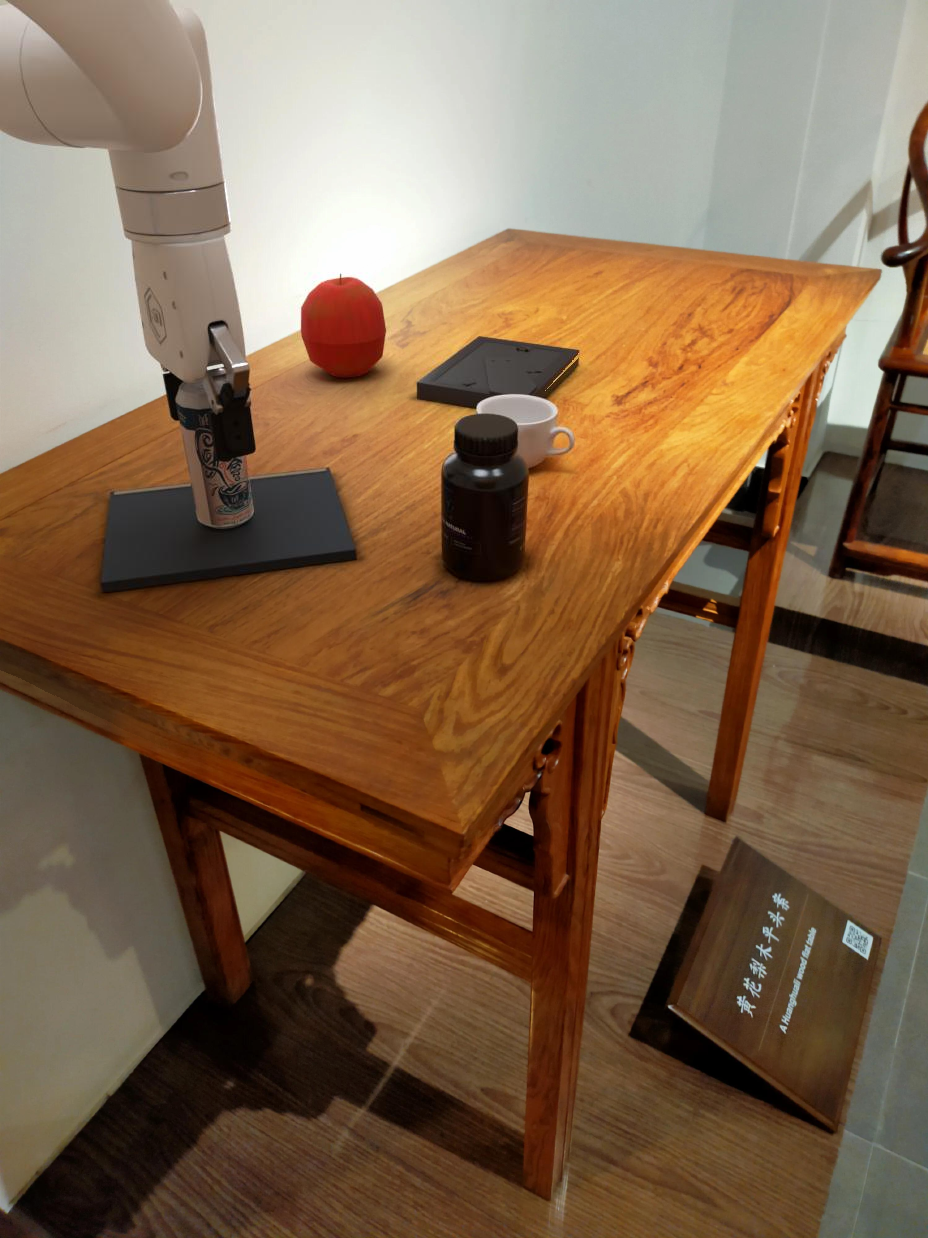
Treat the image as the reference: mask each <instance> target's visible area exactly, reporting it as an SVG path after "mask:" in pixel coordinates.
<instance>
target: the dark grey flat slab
mask: <svg viewBox="0 0 928 1238" xmlns="http://www.w3.org/2000/svg"><path fill="white" fill-rule="evenodd" d="M249 480H250V487H251V494H252V501H253V508H254V512H253V515H252V517H251V518H250V519H249V520H247V521H245V522H244V523H242V524H241V525H239V526H236V527H233V528H227V529H217V528H213V527H210V526H207V525H204V524H202V523H201V522H200V521H199V520H198V518H197V514H196V509H195V503H194V498H193V493H192V487H191V482H185V483H174V484H166V485H165V484H164V485H158V486H150V487H149V486H147V487H139V488H131V489H122V490H113V491H110V493H109V501H108V511H107V520H106V521H107V522H106V527H105V528H106V530H105V539H104V547H103V555H102V565H101V574H100V575H101V576H100V587H101V590H102V593H104V594H105V593H113V592H121V591H127V590H135V589H136V590H137V589H142V588H151V587H158V586H166V585H173V584H180V583H181V584H182V583H188V582H195V581H202V580H203V581H204V580H211V579H219V578H226V577H233V576H241V575H247V574H255V573H262V572H271V571H277V570H285V569H293V568H301V567H307V566H308V567H309V566H315V565H323V564H329V563H330V564H331V563H336V562H337V563H338V562H347V561H352V560H357V558H358V557H357V549H356V546H355V543H354V539H353V536H352V533H351V529H350V526H349V523H348V520H347V518H346V517H347V516H346V514H345V512H344V508H343V506H342V502H341V499H340V496H339V493H338V490H337V487H336V484H335V481H334V478H333V475H332V472H331V468H330V467H329V466H328V467H326V466H325V467H319V468H310V469H301V470H292V471H284V472H282V471H281V472H274V473H265V474H256V475H249Z"/></svg>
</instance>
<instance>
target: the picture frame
mask: <svg viewBox="0 0 928 1238" xmlns="http://www.w3.org/2000/svg"><path fill="white" fill-rule="evenodd" d="M578 353H579V354H580V349H575V348H568V347H562V346H553V345H547V344H541V343H532V342H525V341H518V340H510V339H503V338H496V337H490V336H488V337H487V336H483V335H482V336H481V335H479V336H477V337H476V338H474V339H473V340H472V341H470V342H469V343H468V344H466V345H465V346H464V347H462V348H461V349H459V350H458V351H457V352H455V353H454V354H453V355H451V356H450V357H449V358H447V359H446V360H444V361H443V362H442V363H440V364H439V365H437V367H435V368H434V369H433V370H430V372H429V373H427V374H426V375H424V376H423V377H422V378H420V379H419V380H417V381H416V398H417V399H419V400H425V401H431V402H436V403H443V404H448V405H454V406H459V407H466V408H470V409H471V408H472V409H477V405H478V404H479V403H480V402H481V401H483V400H485V399H487V398H490V397H494V396H499V395H508V394H520V395H530V396H535V397H539V398H543V399H545V400H546V398H547V397H548V396H549V395H550V394H551V393H552V392H554V390H555V389H557V387H558V386H559V385H560V384H561V383H562V382H563V381H564V380H565V379H566V378H567V377H568V376H569V375H570V374H571V373H572V372H573V371H574V370H575V369H577V367H578V366H579V363H580V357H579V358H578V359H577V360H576V361H575V362H574V363H573V364H572V365H571V366H570V367H569V368H568V369H567V370H566V371H565V372H564V373H563V374H562V375H561V376H560V377H559V378H558V379H557V380H556V381H555V382H554V383H553V381H554V380H555V379H556V378H557V377H558V376H559V375H560V374H561V373H562V372H563V370H565V368H566V367H567V366H568V365H569V364H570V363H571V362H572V360H574V358H575V357H576V356H577V355H578ZM552 383H553V384H552ZM551 384H552V385H551ZM550 385H551V386H550ZM549 386H550V387H549ZM548 387H549V388H548ZM547 388H548V389H547ZM545 390H546V391H545Z"/></svg>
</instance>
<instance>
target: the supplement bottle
mask: <svg viewBox="0 0 928 1238" xmlns="http://www.w3.org/2000/svg"><path fill="white" fill-rule="evenodd" d="M453 432H454V433H453V450H454V451H452V452H451V453H450V454H449V455H448V456H447V457H446V458H445V459H444V461H443V463H442V466H441V470H440V471H441V472H440V508H441V509H440V516H441V517H440V520H441V522H440V530H441V531H440V533H441V534H440V538H441V539H440V540H441V543H440V544H441V545H440V546H441V559H442V562H443V564H444V566H445V567H446V568H447V569H448V570H449V571H450V572H451V573H452V574H454V575H456V576H457V577H460V578H463V579H466V580H469V581H476V582H491V581H499V580H501V579H505V578H508V577H510V576H512V575H513V574H515V573H516V572H517V571H519V569H520V568H521V567H522V565H523V563H524V561H525V553H526V536H527V521H528V520H527V518H528V517H527V516H528V501H529V483H530V482H529V481H530V468H529V469H528V466H527V463H526V462H525V460H524V459H523V457H522V456H521V455H520V454H518V453H517V450H518V427H517V424H516V422H515V421H513V420H512V419H510V418H508V417H505V416H502V415H498V414H489V413H485V414H484V413H481V414H476V413H474V414H469V415H465V416H463V417H461V418H460V419H457V421H455V424H454V428H453Z"/></svg>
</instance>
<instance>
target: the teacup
mask: <svg viewBox="0 0 928 1238" xmlns="http://www.w3.org/2000/svg"><path fill="white" fill-rule="evenodd" d="M475 412H476V413H475V414H481V413H484V414H485V413H489V414H498V415H502V416H505V417H508V418H510V419H512V420H513V421H515V422H516V424H517V427H518V450H517V453H518V454H520V455H521V456H522V457H523V459H524V460H525V462H526V463H527V466H528V469H529V470H530V469H531V468H533V467H535V466H537V465H539V464H541V463H542V462H544V460H545V459H546V458H547V457H555V456H561V455H565V454H567V453H569V452H570V451H571V450H572V449H573V448H574V446H575V442H576V441H575V440H576V439H575V435H574V434H573V432H572V431H571V430H570V428H568V427H565V426H557V424H558V413H559V410H558V407H557V406H556V404H554V402H551V401H549V400H548V399H546V398H545V399H543V398H539V397H535V396H530V395H520V394H508V395H499V396H494V397H490V398H487V399H485V400H483V401H481V402H480V403H479V404H478V405H477V408H476V411H475ZM560 434H565V435H566V436H567V437H568V441H569V443H568V446H567V447H566V448H555V447H554V443H555V439H556V437H557V436H558V435H560Z"/></svg>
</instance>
